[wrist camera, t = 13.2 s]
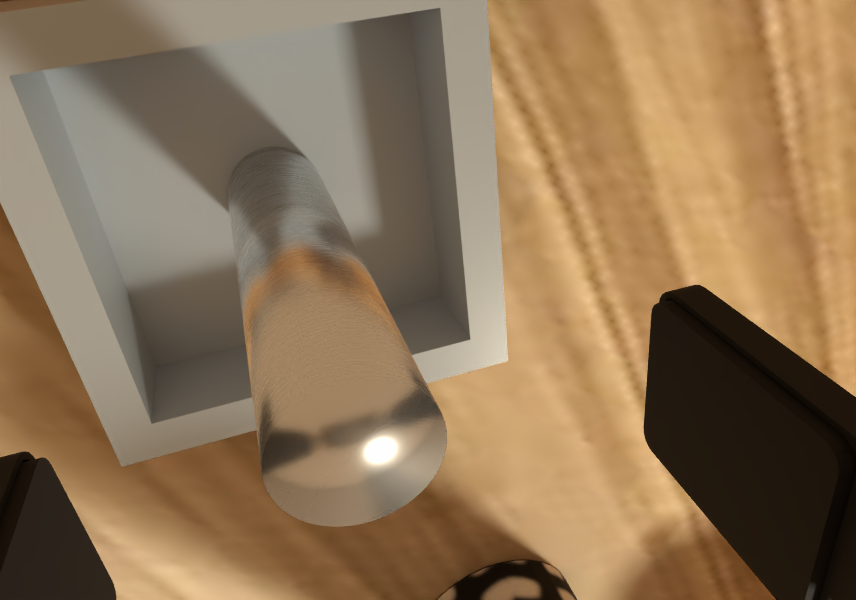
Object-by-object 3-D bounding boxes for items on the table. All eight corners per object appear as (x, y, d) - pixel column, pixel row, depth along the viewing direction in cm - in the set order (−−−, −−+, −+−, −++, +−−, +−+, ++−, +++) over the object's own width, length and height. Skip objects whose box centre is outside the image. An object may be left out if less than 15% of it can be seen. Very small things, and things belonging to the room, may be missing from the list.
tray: (433, -58, 19) (484, -56, 16) (466, 303, 25) (508, 361, 22) (-26, 5, 17) (-83, 24, 13) (132, 388, 23) (121, 467, 19)
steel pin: (313, 138, 20) (437, 356, 10) (330, 225, 21) (454, 495, 11) (216, 157, 19) (240, 408, 9) (240, 245, 21) (285, 547, 10)
